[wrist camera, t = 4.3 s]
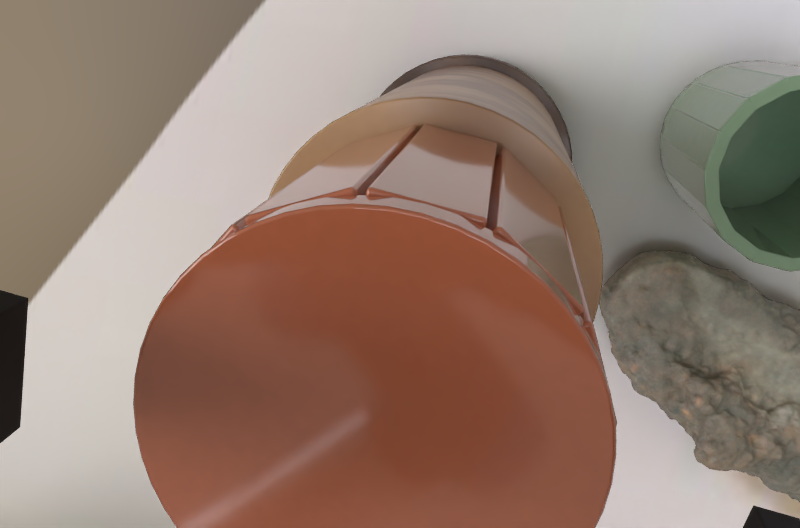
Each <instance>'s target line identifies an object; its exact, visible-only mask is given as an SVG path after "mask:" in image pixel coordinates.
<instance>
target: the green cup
mask: <svg viewBox="0 0 800 528" xmlns="http://www.w3.org/2000/svg"><path fill="white" fill-rule="evenodd" d="M660 156H661V162H662V165H663V169H664V171H665V174H666V176H667V178H668V180H669V181H670V183H671V185H672V186H673V187H674V189H675V191H676V193H677V194H678V195H679V196H680V197H681V198H682V199H683V200H684V201H685V202H686V203H687V204H688V205H689V206H690V207H691V208H692V209H693V210H694V211H695V212H696V213H697V214H698V215H699V216H700V217H701V218H702V219H703V220H704V221H705V222H706V223H707V224H708V225H709V226H710V227H711V228H712V229H713V230H714V231H715V232H716V233H717V234H718V235H719V236H720V237H721V238H722V239H723V240H724V241H725V242H727V243H728V244H729V245H730V246H732V247H733V248H734V249H736V250H737V251H738V252H740V253H741V254H742V255H743V256H745V257H746V258H747V259H749V260H750V261H752V262H755V263H759V264H763V265H767V266H771V267H774V268H778V269H782V270H786V271H798V270H800V66H795V65H788V64H781V63H773V62H766V61H745V62H736V63H731V64H726V65H723V66H721V67H718V68H715V69H713V70H711V71H709V72H707V73H705V74H703V75H702V76H700V77H699V78H697V79H696V80H694V81H693V82H692V83H691V84H690V85H688V86H687V87H686V88H685V89H684V90H683V91H682V92H681V93H680V95H679V96H678V97H677V99H676V100H675V101H674V103H673V104H672V106H671V108H670V110H669V111H668V113H667V116H666V118H665V120H664V124H663V127H662V131H661V137H660Z"/></svg>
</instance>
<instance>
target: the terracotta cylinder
mask: <svg viewBox="0 0 800 528" xmlns="http://www.w3.org/2000/svg"><path fill="white" fill-rule="evenodd" d="M496 150H497V143H496V142H494V141H490V140H486V139H483V138H479V137H475V136H471V135H467V134H463V133H459V132H456V131H452V130H448V129H444V128H440V127H436V126H432V125H429V124H425V125H424V126H423V127H422V128H421V129H420V130H419V129H418V126H417V125H410V126H407V127H403V128H400V129H396V130H393V131H389V132H386V133H382V134H379V135H375V136H372V137H368V138H365V139H361V140H358V141H354V142H351V143H348V144H347V145H346V146H344V147H343V148H341V149H339V150H337V151H336V152H334V153H333V154H331V155H330V156H329V157H327V158H326V159H324V160H323V161H322V162H320V163H319V164H317V165H316V166H314V167H313V168H312V169H310V170H309V171H307V172H306V173H305V174H303V175H302V176H300V177H299V178H297V179H296V180H295V181H293V182H292V183H290V184H289V185H288V186H286V187H285V188H283V189H282V190H280V191H279V192H278V193H276V194H275V195H273V196H272V197H270V198H269V199H268V200H266V201H265V202H263V203H262V204H261V205H259V206H258V207H256V208H255V209H253V210H252V211H251V212H249V213H248V214H246V215H245V216H244V217H242V218H241V219H239V220H238V221H236V222H235V223H234V224H232V225H231V226H230V227H229V228H228V229H227V230H226V232H225V233H224V234H223V235H222V236H221V237H220V238H219V239H218V241H217V242H216V243H215V244H214V245H213V246H212V247H211V248H210V249H209V250H207V251H206V252H205V253H203V254H202V255H201V256H200V257H199V258H198V259H197V260H196V261H195V262H194V263H193V264H192V265H191V266H190V267H189V268H187V269H186V270H185V271H184V272H183V273H182V274H181V275H180V277H179V278H178V279H177V281H176V282H175V283H174V285H173V286H172V287H171V288H170V290H169V291H168V292H167V294H166V295H165V296H164V298H163V299H162V301H161V303H160V305H159V307H158V309H157V310H156V312H155V314H154V316H153V318H152V320H151V321H150V324H149V326H148V329H147V332H146V335H145V337H144V340H143V343H142V346H141V348H140V353H139V358H138V363H137V368H136V373H135V383H134V402H133V405H134V417H135V428H136V434H137V439H138V443H139V448H140V452H141V456H142V460H143V462H144V465H145V468H146V471H147V473H148V476H149V479H150V481H151V484H152V486H153V488H154V490H155V492H156V494H157V496H158V498H159V500H160V502H161V504H162V505H163V507H164V509H165V511H166V512H167V514H168V515H169V516H170V518H171V519H172V521H173V522H174V524H175V525H176V527H177V528H595V527H596V525H597V523H598V521H599V519H600V517H601V515H602V513H603V511H604V508H605V504H606V501H607V498H608V495H609V492H610V488H611V485H612V480H613V473H614V466H615V460H616V425H617V420H616V416H615V412H614V408H613V404H612V398H611V393H610V389H609V386H608V382H607V378H606V375H605V370H604V366H603V362H602V358H601V354H600V350H599V346H598V341H597V337H596V333H595V329H594V325H593V321H592V317H591V314H590V310H589V306H588V303H587V299H586V295H585V292H584V288H583V284H582V281H581V277H580V273H579V270H578V266H577V262H576V259H575V255H574V251H573V248H572V244H571V240H570V237H569V233H568V230H567V226H566V222H565V219H564V215H563V211H562V208H561V207H560V206H558V204H557V200H556V197H555V196H554V195H553V194H552V193H551V192H550V191H549V190H548V189H547V188H546V187H545V186H544V185H543V184H542V183H541V182H540V181H539V180H538V179H537V178H536V177H535V176H534V175H533V174H532V173H531V172H530V171H529V170H528V169H527V168H526V167H525V166H524V165H523V164H522V163H521V162H520V161H519V160H518V159H517V158H516V157H515V156H514V155H513V154H512V153H511V152H510V151H509V150H508V149H507V148H502V149H501V150H500V151H499V152H498V153H497V154H496Z"/></svg>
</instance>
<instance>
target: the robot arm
mask: <svg viewBox="0 0 800 528" xmlns="http://www.w3.org/2000/svg"><path fill="white" fill-rule="evenodd" d="M27 309H28V298H26V297H22V296H18V295H15V294H12V293H8V292H5V291H1V290H0V443H1V442H2V441H3V440H5V439H6V438H7V437H8V436H10V435H11V434H12V433H13V432H14V431H16V430H17V429H18V428H19V427H20V419H21V404H22V388H23V372H24V356H25V341H26V325H27ZM743 528H800V520H799V519H798V518H795V517H791V516H788V515H784V514H781V513H777V512H774V511H771V510H767V509H764V508H760V507H757V506H753V508H752V510H751V512H750V514H749V516H748V518H747V520H746V522H745V524H744V526H743Z"/></svg>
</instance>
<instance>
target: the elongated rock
mask: <svg viewBox="0 0 800 528" xmlns="http://www.w3.org/2000/svg"><path fill="white" fill-rule="evenodd" d="M599 304H600V308H601V314H602V316H603V318H604V320H605V323H606V325H607V327H608V329H609V331H608V332H609V338H610V341H611V346H612V347H611V352H612V354H613V355H614V356H615V358H616V360H617V361H618V365H619V367H620V368H621V371H622V372H623V373H624V374H626V375H627V376H628V377H629V378H630V379H631V382H632V386H633V389H634V390H635V391H637V393H639V394H641V395H643V396H646V397H648V398H650V399H651V400H653V401H655V402H657V404H658V405H659V407H660V408H661V409H662V410H664V411H665V413H666V414H667V416H668V417H669V418H670V419H675V420H677V421H678V423H679V424H680V425H681V426H682V427H684V428H685V431H686V432H687V433H688V434H689V435H690V436H692V438H693V440H694V441H695V444H696V446H695V447H696V448H695V450H694V454H695V457H696V460H697V461H698V462H700V463H702V464H703V465H705V466H706V467H708V468H709V469H713V470H719V471H721V470H722V471H729V470H738V471H741V472H746V473H747V474H749V475H751V476H757V477H760V478H761V480H762V481H763V483H764V484H765V485H766V486H767V487H768V488H769V489H771V490H774V491H777V492H782V493H786V494H788V495H789V496H790V497H791V498H792V499H796V500H798V501H799V502H800V310H799V309H794V308H792V307H790V306H789V305H786V304H783V303H781V302H774V301H772V300H769V299H766V298H765V297H764V296H763V295H762V294H759V293H758V291H757V290H756V289H755V288H754V287H753V286H752V284H750V283H748V282H747V281H745V280H742V279H740V278H738V277H737V276H736V274H734V273H733V272H731V271H729V270H728V269H718V268H715V267H713V266H709V265H706V264H704V263H703V262H701V261H699V260H698V259H697V258H696V257H694V256H693V255H689V254H687V253H680V252H673V251H671V250H668V251H665V252H662V251H656V252H654V251H647V252H644V253H641V254H638V255H636V256H635V257H633V258H632V259H631V260H630V261H628V262H627V263H626V264H625V265H624V266H622V267H621V268H620V269H619V270H617V271H616V273H615V274H614V275H612V276H611V277H610V278H609V279H608V281H607V282H606V283H605V284H604V285H603V287H602V291H601V299H600V301H599Z"/></svg>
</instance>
